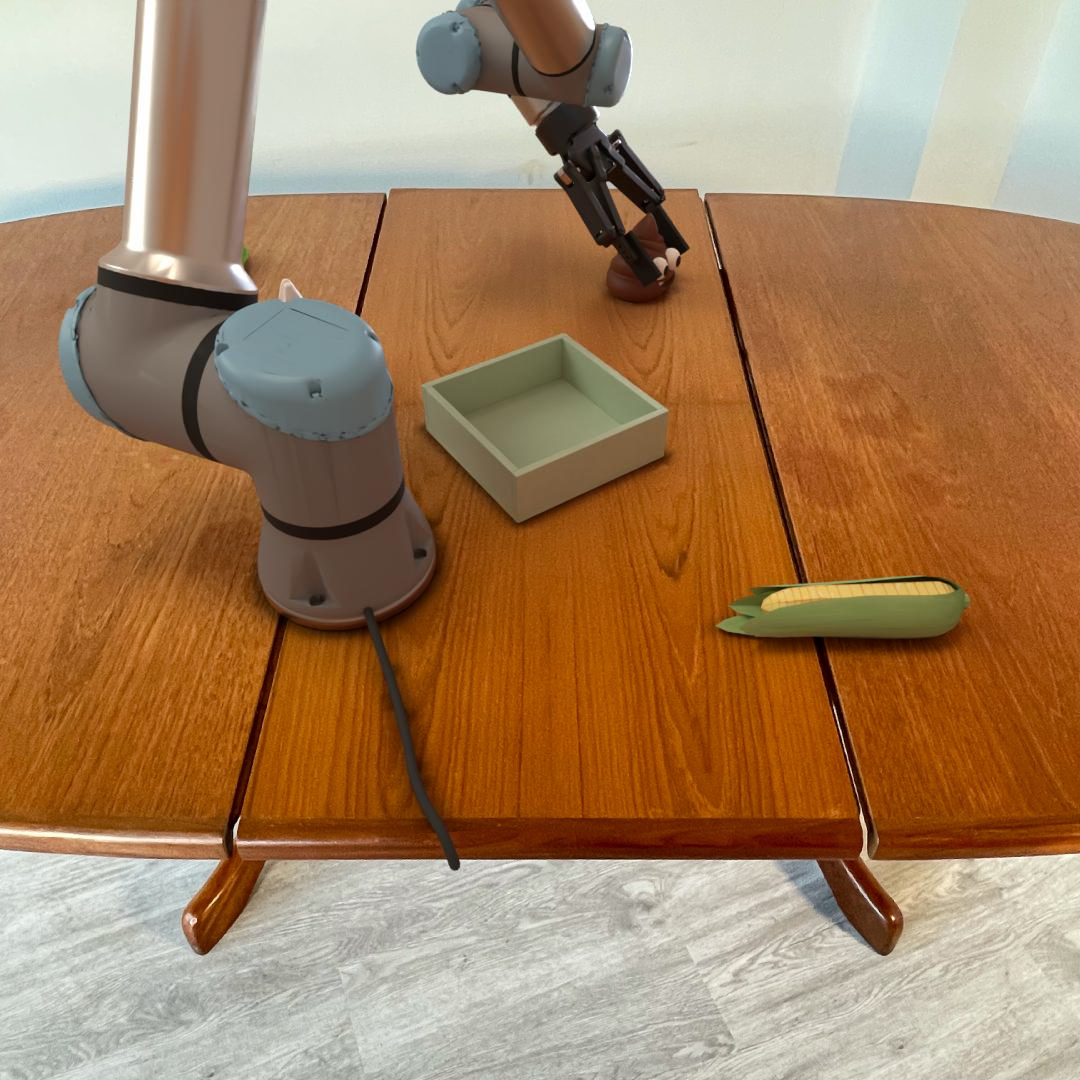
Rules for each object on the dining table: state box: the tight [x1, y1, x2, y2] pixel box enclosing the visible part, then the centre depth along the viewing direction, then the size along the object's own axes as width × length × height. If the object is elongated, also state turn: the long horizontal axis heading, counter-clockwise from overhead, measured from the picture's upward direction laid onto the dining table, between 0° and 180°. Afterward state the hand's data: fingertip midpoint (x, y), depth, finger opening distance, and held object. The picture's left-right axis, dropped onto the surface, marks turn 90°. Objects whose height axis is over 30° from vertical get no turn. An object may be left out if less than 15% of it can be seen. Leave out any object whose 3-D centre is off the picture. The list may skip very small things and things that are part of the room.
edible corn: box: [715, 574, 971, 640], centre depth 71 cm, size 5×20×5 cm, turn 92°
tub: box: [420, 332, 670, 524], centre depth 88 cm, size 18×18×6 cm
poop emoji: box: [605, 213, 682, 303], centre depth 111 cm, size 10×8×9 cm
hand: (667, 267), depth 110 cm, fingers closed on poop emoji, 7 cm apart
